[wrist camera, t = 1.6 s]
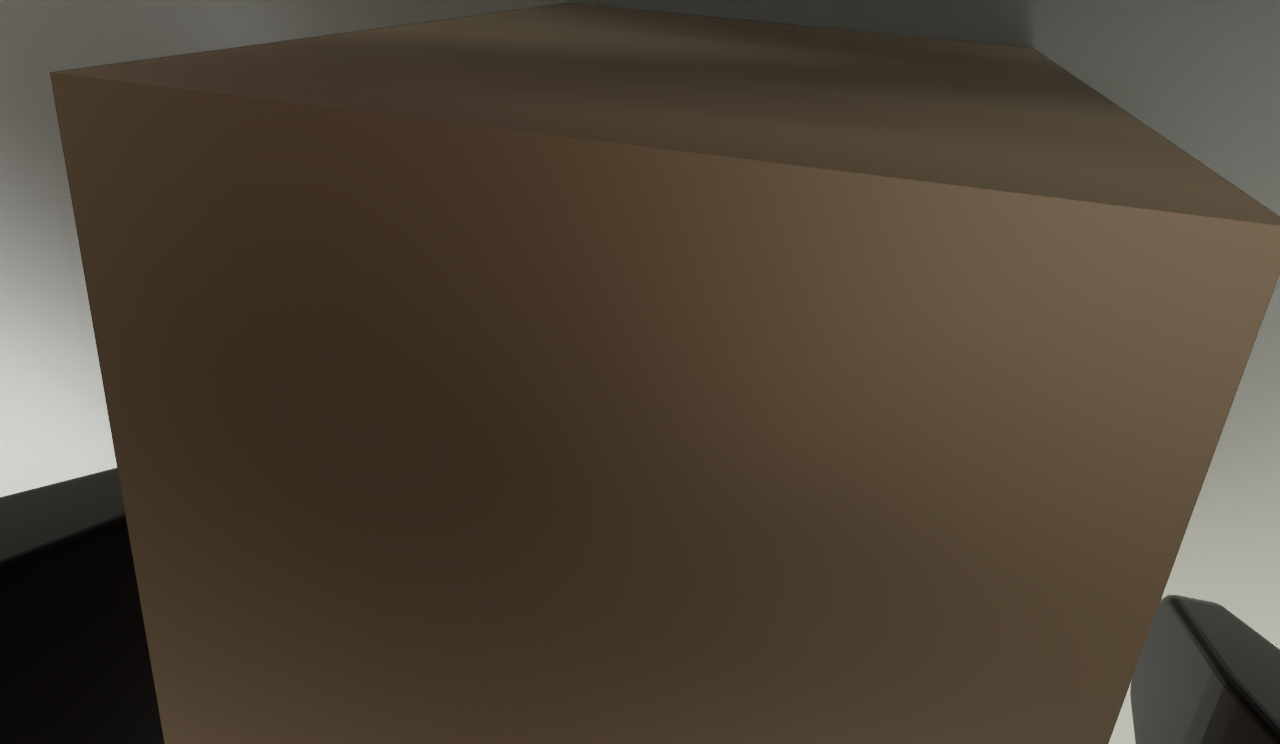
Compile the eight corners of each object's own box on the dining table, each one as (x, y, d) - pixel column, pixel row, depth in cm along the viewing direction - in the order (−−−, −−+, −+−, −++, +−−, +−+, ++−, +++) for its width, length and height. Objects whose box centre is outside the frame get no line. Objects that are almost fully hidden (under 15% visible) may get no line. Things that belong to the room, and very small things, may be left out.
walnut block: (1032, 47, 8) (1295, 229, 3) (852, 825, 12) (810, 1558, 6) (570, 3, 9) (50, 74, 3) (540, 745, 12) (266, 1339, 7)
